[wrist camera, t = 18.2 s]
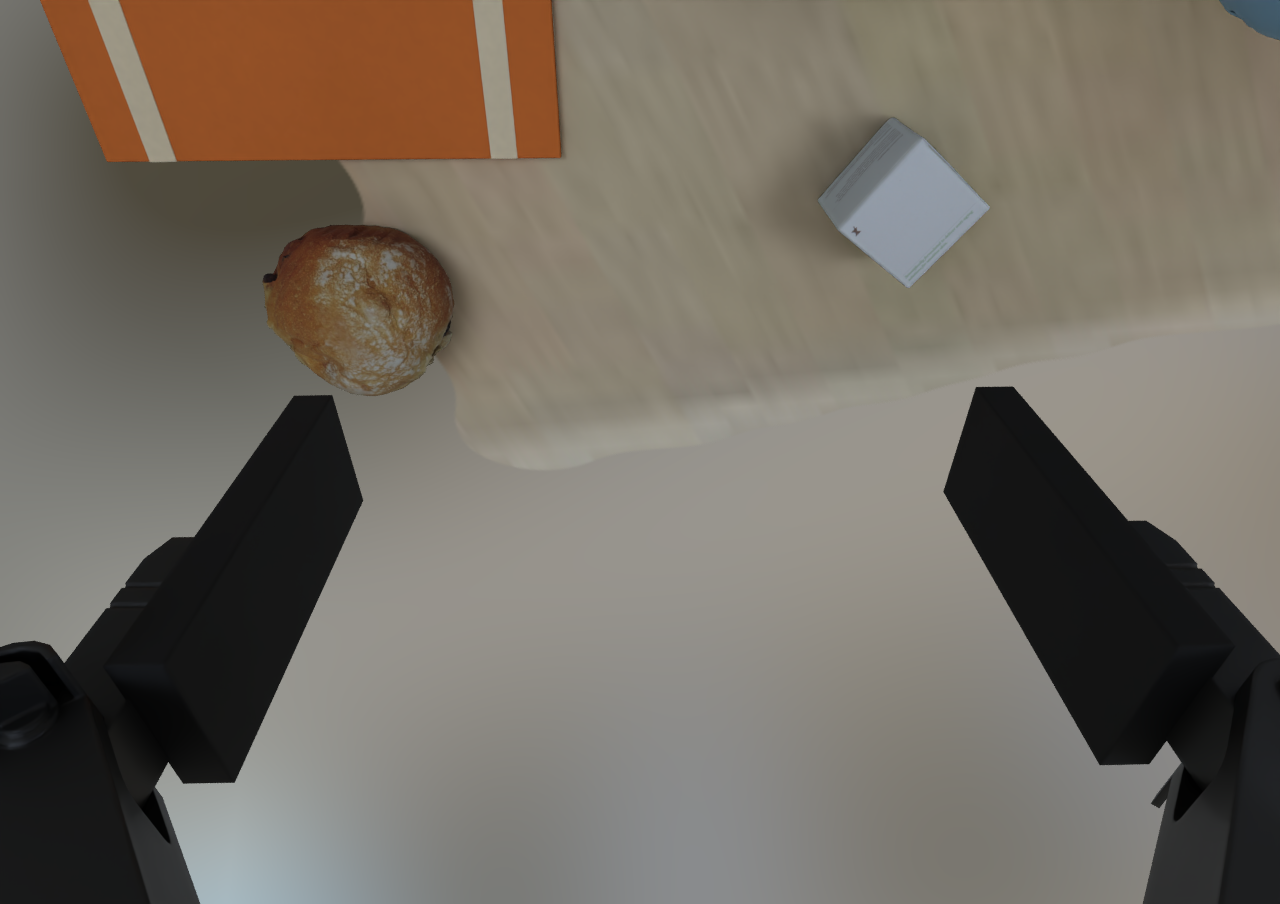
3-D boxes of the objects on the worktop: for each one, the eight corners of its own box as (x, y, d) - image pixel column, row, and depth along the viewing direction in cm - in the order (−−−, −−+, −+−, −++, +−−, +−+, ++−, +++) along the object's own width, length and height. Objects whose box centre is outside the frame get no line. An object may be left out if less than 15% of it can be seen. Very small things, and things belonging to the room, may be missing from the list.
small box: (881, 259, 43) (908, 293, 39) (813, 200, 41) (834, 229, 37) (959, 180, 40) (996, 207, 36) (890, 112, 38) (922, 133, 34)
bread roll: (424, 354, 50) (454, 425, 45) (255, 346, 44) (268, 426, 39) (450, 218, 44) (487, 281, 39) (262, 189, 39) (277, 258, 34)
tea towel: (-6, -128, 32) (-16, -129, 31) (543, -129, 32) (541, -131, 32) (112, 159, 39) (105, 162, 38) (561, 155, 39) (560, 158, 39)
